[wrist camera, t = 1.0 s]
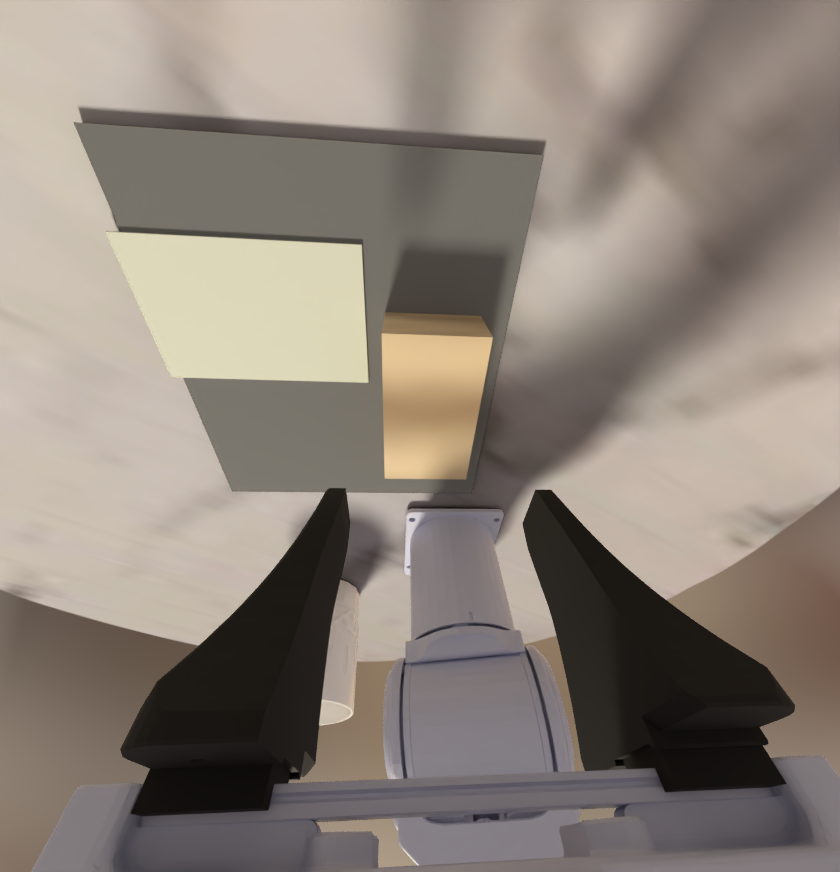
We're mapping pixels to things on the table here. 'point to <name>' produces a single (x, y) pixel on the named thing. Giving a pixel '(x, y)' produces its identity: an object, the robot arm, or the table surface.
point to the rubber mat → (307, 282)
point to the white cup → (341, 658)
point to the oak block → (431, 392)
